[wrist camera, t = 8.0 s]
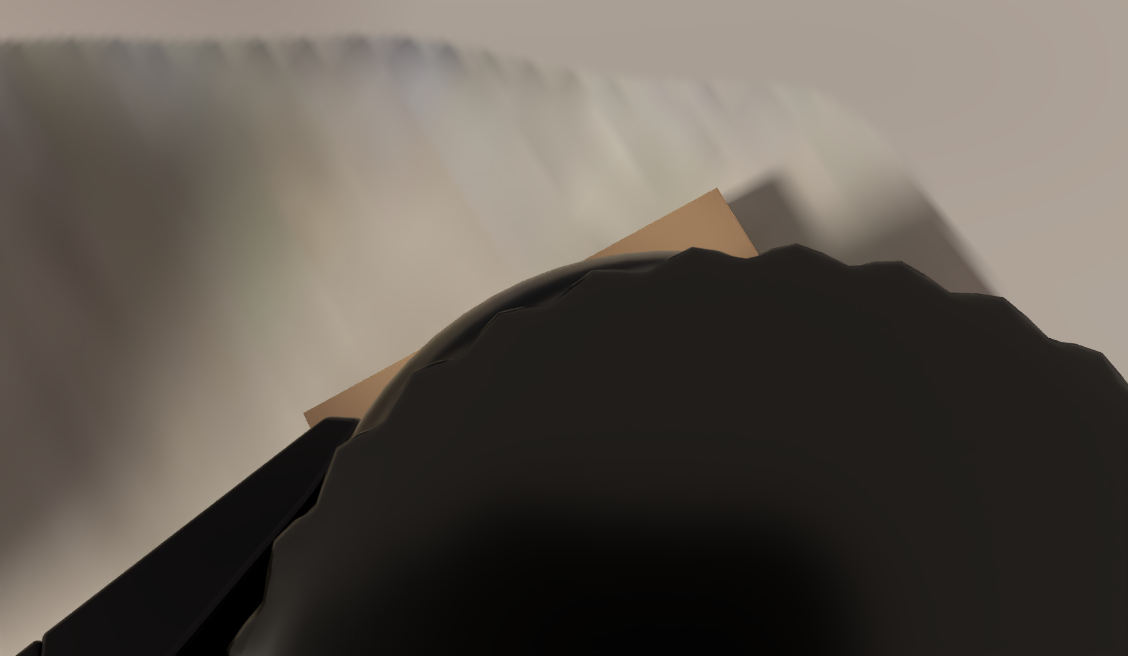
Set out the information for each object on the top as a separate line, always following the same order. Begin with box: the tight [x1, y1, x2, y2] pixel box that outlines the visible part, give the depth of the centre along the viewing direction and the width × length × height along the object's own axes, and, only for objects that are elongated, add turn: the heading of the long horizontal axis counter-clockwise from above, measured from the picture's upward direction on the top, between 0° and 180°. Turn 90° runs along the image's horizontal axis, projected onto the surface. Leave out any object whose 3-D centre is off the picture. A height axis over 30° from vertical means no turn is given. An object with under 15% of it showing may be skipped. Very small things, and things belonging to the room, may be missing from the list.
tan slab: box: [304, 188, 759, 428], centre depth 17 cm, size 11×11×2 cm
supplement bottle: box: [227, 243, 1128, 656], centre depth 9 cm, size 7×7×12 cm
